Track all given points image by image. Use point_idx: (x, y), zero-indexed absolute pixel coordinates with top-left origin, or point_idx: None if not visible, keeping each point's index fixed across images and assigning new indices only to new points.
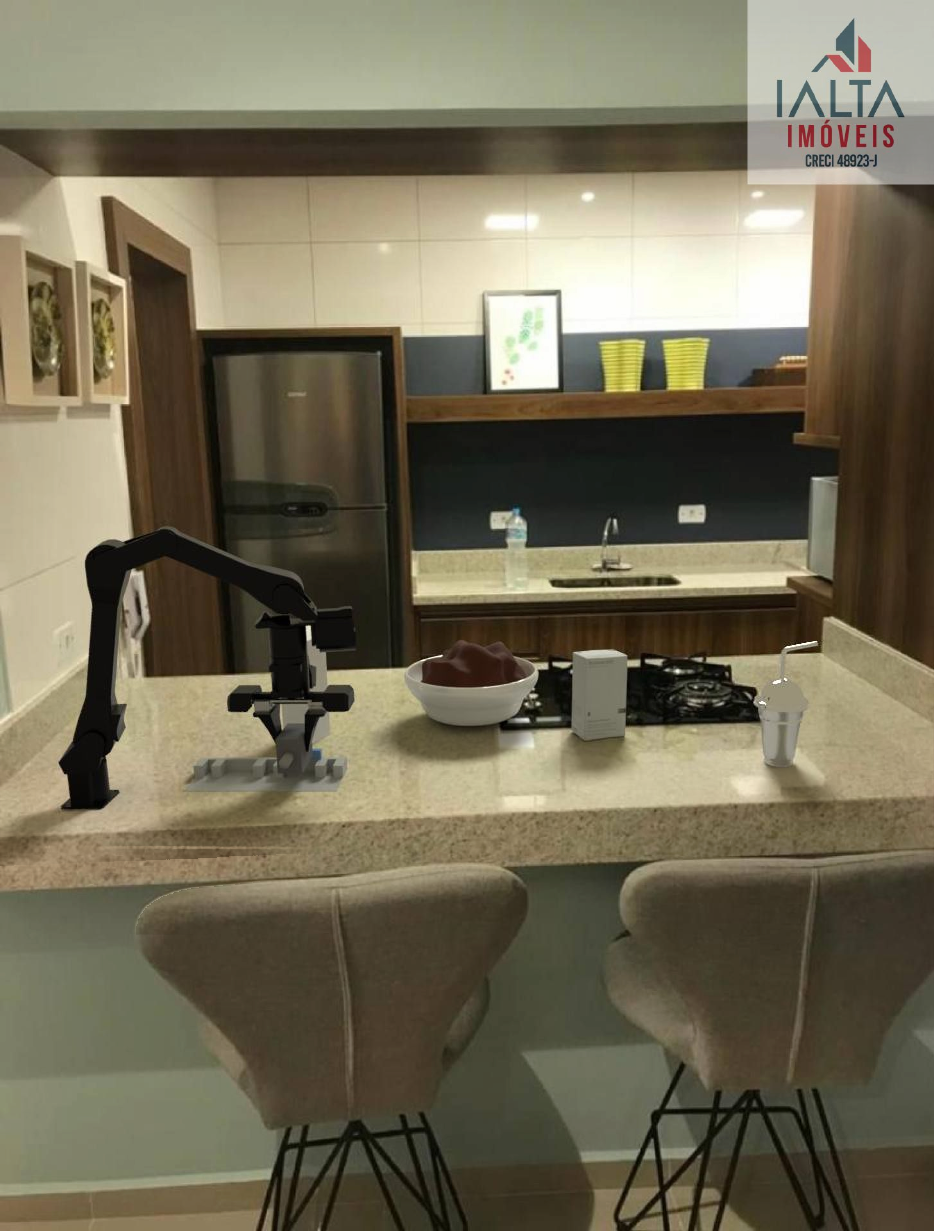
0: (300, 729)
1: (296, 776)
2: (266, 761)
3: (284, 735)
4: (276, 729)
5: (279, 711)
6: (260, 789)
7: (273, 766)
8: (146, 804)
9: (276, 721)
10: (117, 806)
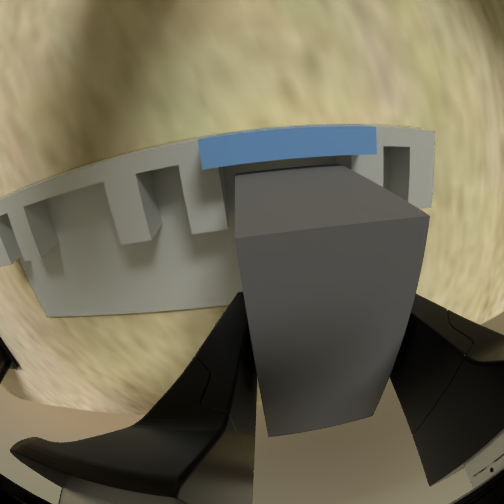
0: (371, 337)
1: None
2: (138, 176)
3: (296, 410)
4: (254, 435)
5: (218, 451)
6: (200, 300)
7: (193, 233)
8: (43, 353)
9: (246, 458)
10: (21, 355)
